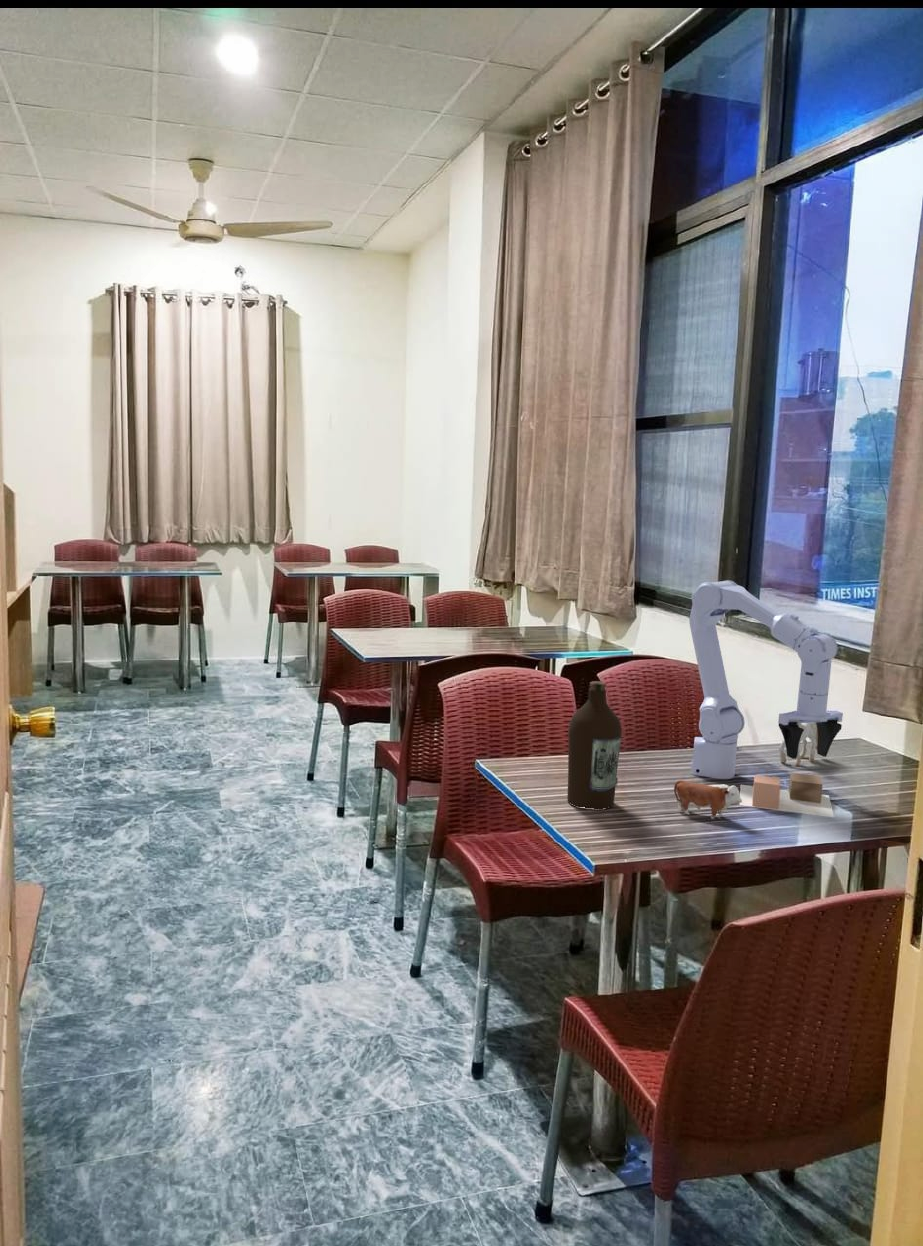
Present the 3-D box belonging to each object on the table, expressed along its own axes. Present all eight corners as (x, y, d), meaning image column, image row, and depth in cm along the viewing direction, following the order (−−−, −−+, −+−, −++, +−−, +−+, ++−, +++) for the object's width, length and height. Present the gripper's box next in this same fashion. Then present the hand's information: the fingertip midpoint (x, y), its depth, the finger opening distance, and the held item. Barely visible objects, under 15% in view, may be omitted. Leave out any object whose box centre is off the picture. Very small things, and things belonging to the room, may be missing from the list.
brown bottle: (553, 798, 197) (560, 679, 193) (594, 791, 202) (601, 675, 198) (586, 815, 188) (594, 690, 184) (627, 807, 193) (636, 686, 189)
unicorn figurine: (771, 770, 222) (776, 714, 220) (790, 751, 239) (795, 699, 237) (803, 776, 218) (808, 719, 216) (820, 756, 235) (825, 703, 233)
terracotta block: (752, 805, 194) (754, 782, 193) (752, 798, 199) (754, 774, 198) (778, 809, 193) (780, 785, 192) (777, 801, 197) (779, 778, 196)
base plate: (739, 809, 194) (739, 804, 194) (740, 788, 208) (740, 784, 207) (833, 822, 189) (834, 817, 189) (828, 800, 202) (828, 795, 202)
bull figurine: (737, 831, 182) (741, 790, 181) (669, 816, 189) (672, 776, 188) (744, 825, 186) (747, 784, 185) (677, 810, 193) (680, 771, 192)
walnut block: (790, 799, 199) (791, 780, 198) (789, 790, 205) (790, 772, 204) (820, 803, 197) (822, 784, 197) (818, 794, 203) (820, 776, 202)
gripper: (796, 698, 191) (790, 764, 193) (855, 695, 196) (848, 759, 198) (774, 690, 197) (768, 754, 199) (831, 687, 202) (825, 750, 204)
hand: (806, 756), depth 199 cm, fingers open, 7 cm apart
